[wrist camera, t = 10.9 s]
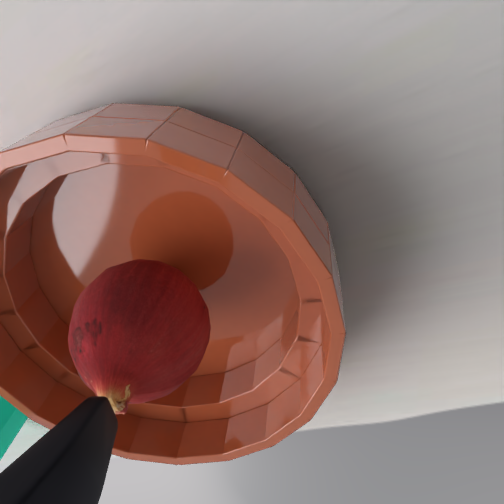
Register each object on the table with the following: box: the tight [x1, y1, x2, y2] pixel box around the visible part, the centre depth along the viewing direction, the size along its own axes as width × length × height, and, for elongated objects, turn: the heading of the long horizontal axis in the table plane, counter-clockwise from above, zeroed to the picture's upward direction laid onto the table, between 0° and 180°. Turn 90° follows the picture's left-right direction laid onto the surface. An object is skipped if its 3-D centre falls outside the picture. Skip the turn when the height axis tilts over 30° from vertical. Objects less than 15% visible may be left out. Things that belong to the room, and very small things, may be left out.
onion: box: [68, 259, 211, 414], centre depth 19 cm, size 6×6×8 cm
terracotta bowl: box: [0, 103, 346, 465], centre depth 20 cm, size 17×17×5 cm
